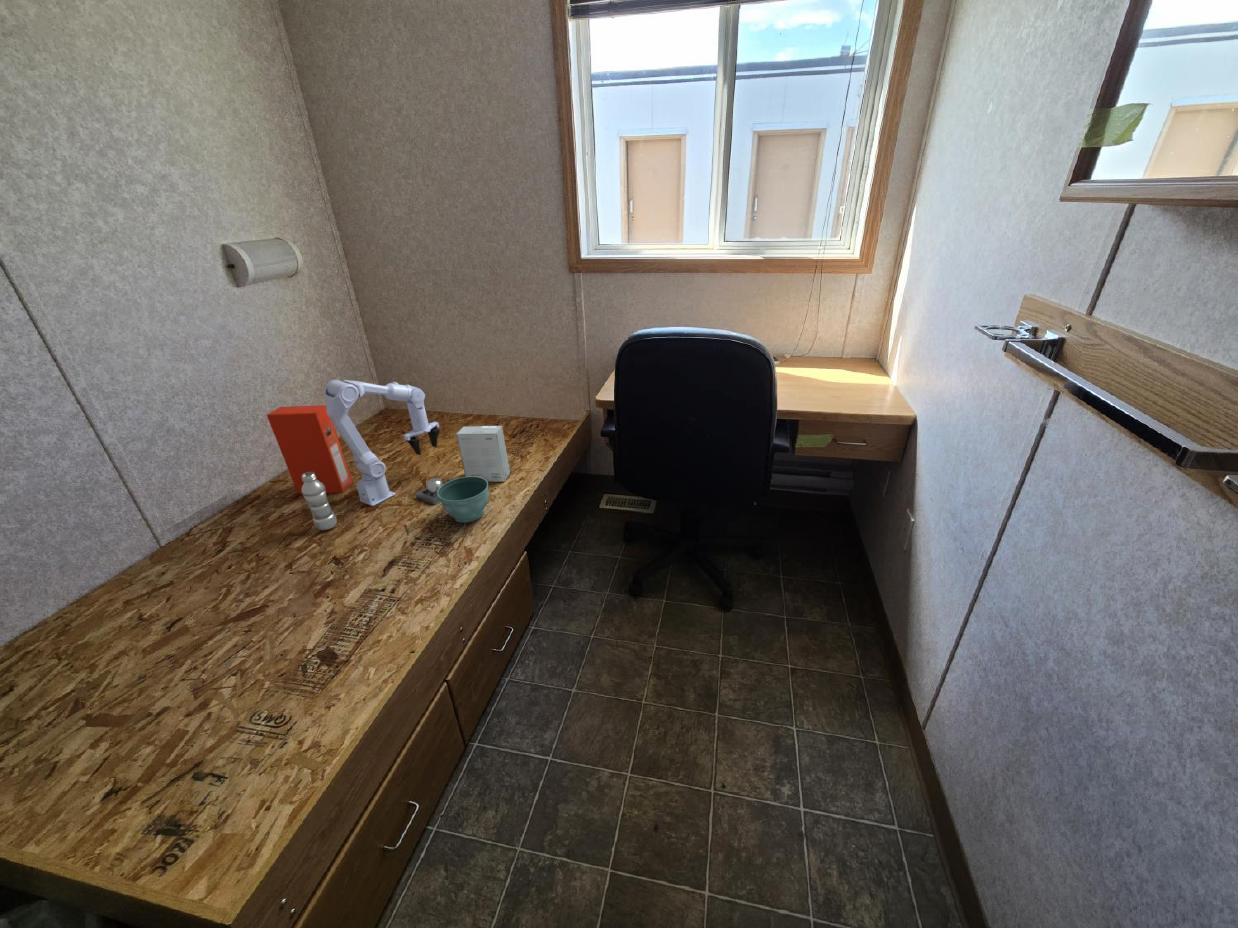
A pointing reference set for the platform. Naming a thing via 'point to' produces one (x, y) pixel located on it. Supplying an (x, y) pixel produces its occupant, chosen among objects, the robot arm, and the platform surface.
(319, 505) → the plastic bottle
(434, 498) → the grey rectangular frame
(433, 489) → the shiny metal cylinder
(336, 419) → the robot arm
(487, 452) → the hard drive box
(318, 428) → the file binder
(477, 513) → the flower pot
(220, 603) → the platform surface
